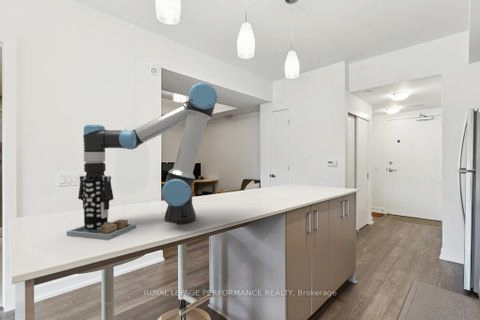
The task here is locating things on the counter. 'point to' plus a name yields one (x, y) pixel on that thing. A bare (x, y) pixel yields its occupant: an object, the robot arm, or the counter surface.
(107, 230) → the walnut block
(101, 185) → the white-spotted black cylinder
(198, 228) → the counter surface
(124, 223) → the walnut block
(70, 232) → the tray
